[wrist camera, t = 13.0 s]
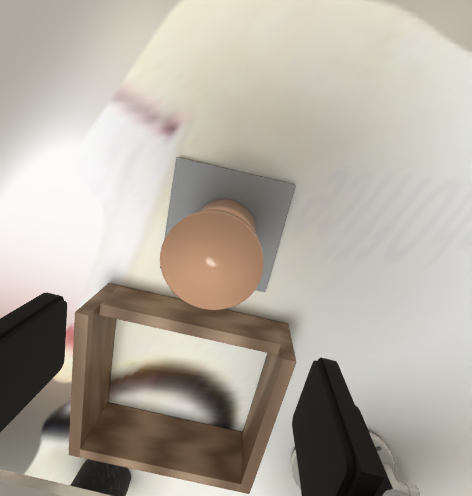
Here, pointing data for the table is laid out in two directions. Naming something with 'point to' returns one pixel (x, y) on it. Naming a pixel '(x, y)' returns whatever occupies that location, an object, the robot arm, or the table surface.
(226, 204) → the terracotta pot
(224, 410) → the table surface
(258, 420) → the brown wooden square frame
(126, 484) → the travel mug
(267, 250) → the slate mat
